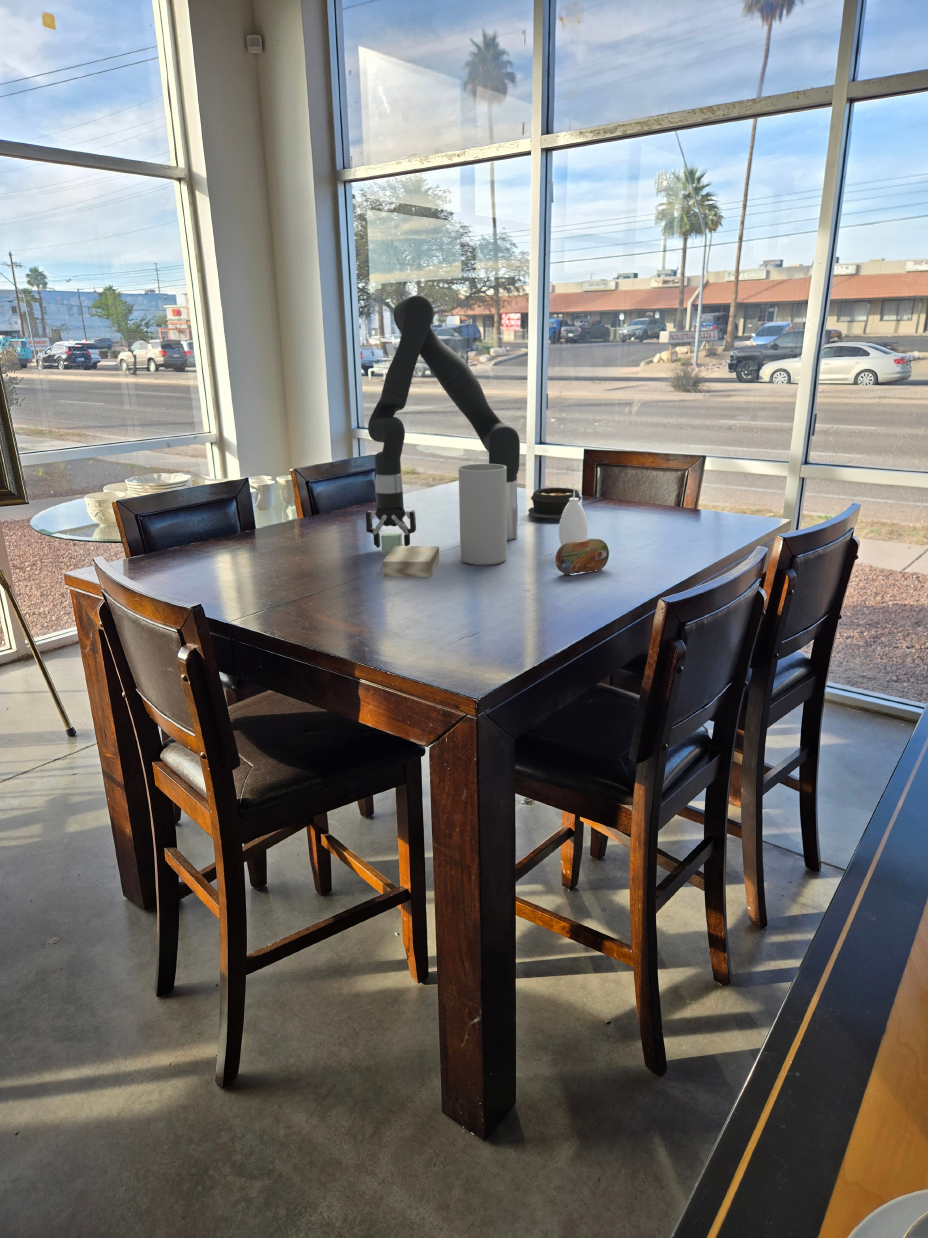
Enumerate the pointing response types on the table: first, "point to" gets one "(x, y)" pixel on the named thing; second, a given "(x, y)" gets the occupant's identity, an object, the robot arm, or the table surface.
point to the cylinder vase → (483, 513)
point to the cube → (390, 541)
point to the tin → (582, 556)
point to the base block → (411, 561)
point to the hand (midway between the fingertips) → (392, 546)
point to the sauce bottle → (573, 522)
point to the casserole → (551, 502)
